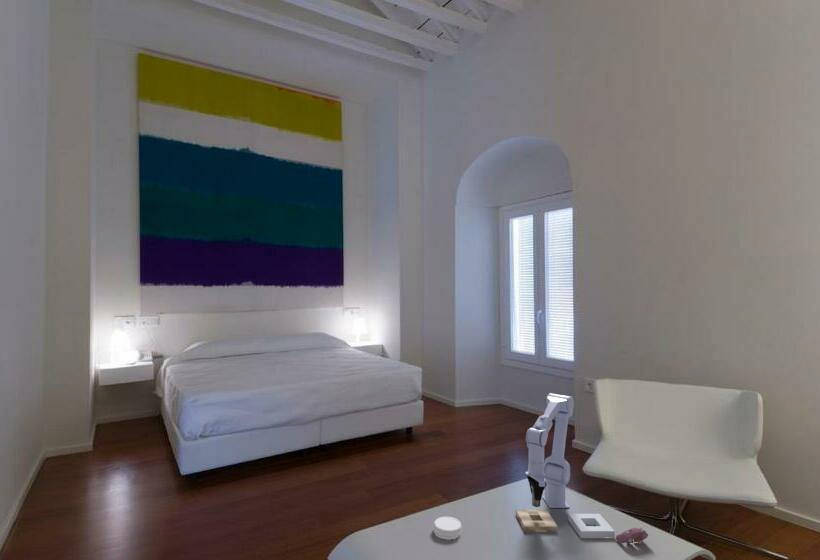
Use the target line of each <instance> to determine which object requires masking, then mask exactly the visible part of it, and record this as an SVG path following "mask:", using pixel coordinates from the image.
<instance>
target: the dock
mask: <svg viewBox="0 0 820 560" xmlns="http://www.w3.org/2000/svg"><path fill="white" fill-rule="evenodd" d="M567 515H568V516H567V517H568V519H567V521H568V522H569V523H570V524H571V526H572V528H573V529H574V530H575V532H576V534H579V535H578V536H579V537H580V539H606V538H605V537H615V538H616V535H615V534H616V531H615V530H614V529H613V527H612V526H611V525H610V524H609V523H608V522H607V520H605V518H604V517H603V516H602V515H601V514H600V513H568V514H567ZM595 525H596V526H595Z"/></svg>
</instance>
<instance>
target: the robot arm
mask: <svg viewBox="0 0 820 560" xmlns="http://www.w3.org/2000/svg"><path fill="white" fill-rule="evenodd" d="M545 403H546V408H545V411H544V412H543V415H539V416H538V418H537V420H536V421H535V423H534V424H533V426H532V427H530V428H528V429H527V431H526V433H525V441H526V448H527V449H528V462H527V463H528V466H527V471H525V472H524V473H525V474H524V475H525V476H526V478H527V480H528V484H529V488H530V493H531V495H532V488H531V485H532V487H533V491H534V498H535V500H540V501H541V500H542V498H543V500H544V501H545V503H546V505H547V506H548V507H549V508H550V509H569V508H570V506H569V504H568V503H567V502H566V485H567V484H568V483H569V482H570V479H571V465H570V464H569V462H568V461H567V460H566V459H565V449H566V440H567V432H568V426H569V425H568V424H569V419H570V418H571V417H573V414H574V409H575V401H574V398H573V396H572V395H570V396H569V395H563V394H558V393H557V394H556V393H553V392H549V393H548V394H547V396H546V401H545ZM553 419H555V423H554V432H553V433H554V434H553V441H552V450H551V455H550V456H548V457H546V458H545V446H546V445H547V441H548V436H549V432H550V430H551V428H552V426H553ZM543 493H544V495H543Z"/></svg>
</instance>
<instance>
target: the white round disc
mask: <svg viewBox="0 0 820 560" xmlns="http://www.w3.org/2000/svg"><path fill="white" fill-rule="evenodd" d="M434 533H435V534H434ZM433 534H434V535H435V536H436V537H437V538H439V539H441V538H442V540H444V539H446V540H445V541H451V539H453V540H456V538H457V539H459V538H460V537H461V535H462V523H461V521H460V520H459V519H458V518H455V517H453V516H440V517H438V518H436V519H435V520H434V522H433ZM459 536H460V537H459Z"/></svg>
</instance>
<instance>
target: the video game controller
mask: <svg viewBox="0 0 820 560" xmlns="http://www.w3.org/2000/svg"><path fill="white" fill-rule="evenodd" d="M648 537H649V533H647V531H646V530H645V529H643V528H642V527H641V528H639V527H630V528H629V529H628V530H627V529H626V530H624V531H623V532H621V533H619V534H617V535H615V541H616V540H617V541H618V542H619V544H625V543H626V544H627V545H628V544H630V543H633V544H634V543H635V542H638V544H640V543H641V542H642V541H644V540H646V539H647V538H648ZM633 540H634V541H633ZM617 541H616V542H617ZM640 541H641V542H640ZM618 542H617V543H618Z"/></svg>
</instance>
